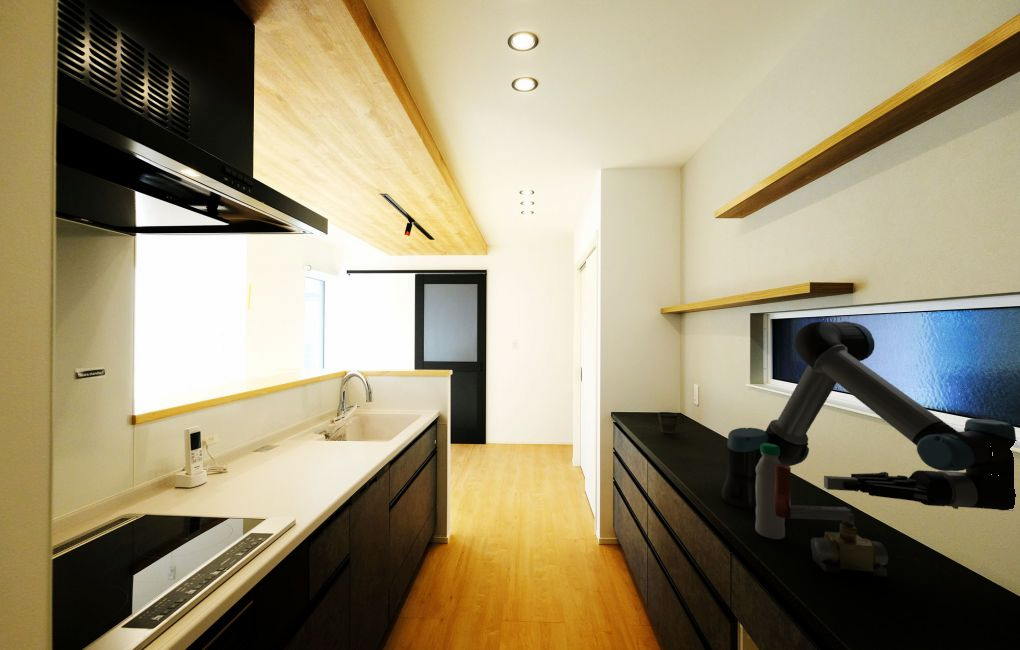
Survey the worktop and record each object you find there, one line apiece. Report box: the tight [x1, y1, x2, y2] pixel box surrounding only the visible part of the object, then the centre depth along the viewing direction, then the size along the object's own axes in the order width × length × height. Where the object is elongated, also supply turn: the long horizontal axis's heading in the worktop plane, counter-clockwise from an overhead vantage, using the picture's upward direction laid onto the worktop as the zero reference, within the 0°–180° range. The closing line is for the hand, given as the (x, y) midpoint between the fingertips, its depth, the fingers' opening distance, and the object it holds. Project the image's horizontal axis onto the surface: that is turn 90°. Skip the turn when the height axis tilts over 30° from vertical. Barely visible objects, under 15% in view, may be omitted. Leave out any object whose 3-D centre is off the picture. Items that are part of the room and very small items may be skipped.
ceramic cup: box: [657, 411, 683, 434], centre depth 232 cm, size 13×10×10 cm
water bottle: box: [754, 443, 786, 540], centre depth 119 cm, size 7×7×25 cm
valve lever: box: [775, 464, 855, 528], centre depth 103 cm, size 18×3×14 cm, turn 85°
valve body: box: [810, 522, 889, 578], centre depth 102 cm, size 14×6×10 cm, turn 82°
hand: (825, 482), depth 100 cm, fingers closed
